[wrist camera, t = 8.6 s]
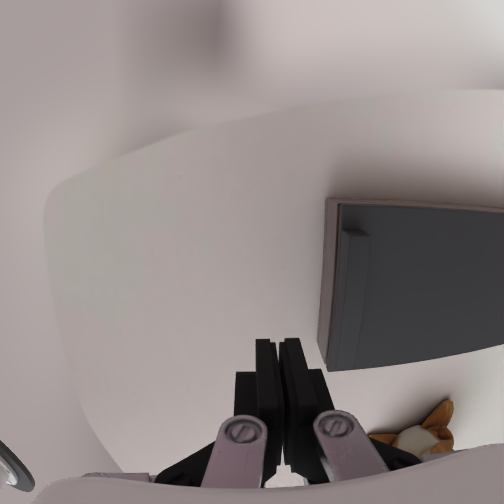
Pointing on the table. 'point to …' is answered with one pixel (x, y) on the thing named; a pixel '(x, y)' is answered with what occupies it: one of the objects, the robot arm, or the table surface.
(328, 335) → the wooden box
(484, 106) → the table surface
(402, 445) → the stuffed squirrel
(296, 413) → the robot arm
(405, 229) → the lid
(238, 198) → the table surface
